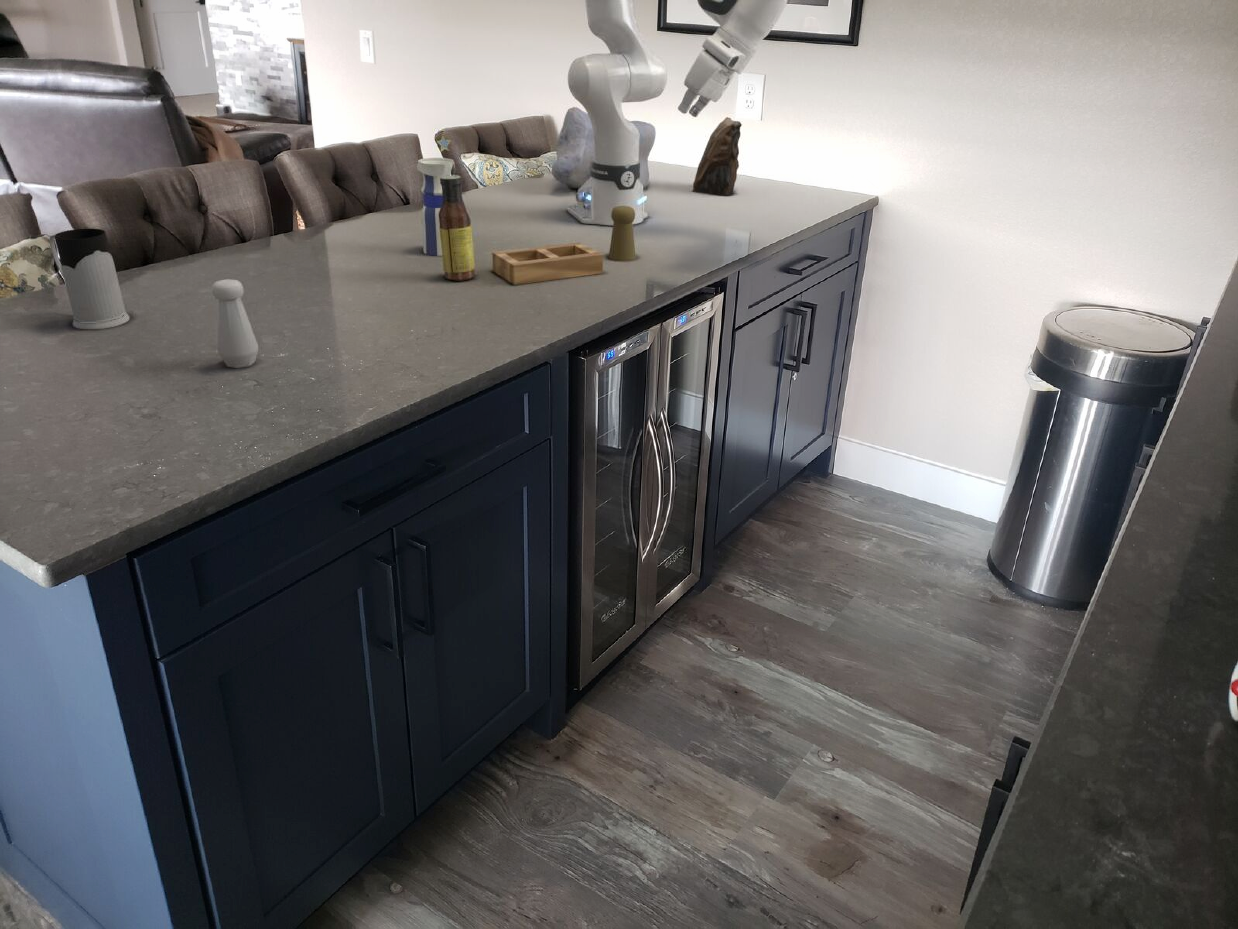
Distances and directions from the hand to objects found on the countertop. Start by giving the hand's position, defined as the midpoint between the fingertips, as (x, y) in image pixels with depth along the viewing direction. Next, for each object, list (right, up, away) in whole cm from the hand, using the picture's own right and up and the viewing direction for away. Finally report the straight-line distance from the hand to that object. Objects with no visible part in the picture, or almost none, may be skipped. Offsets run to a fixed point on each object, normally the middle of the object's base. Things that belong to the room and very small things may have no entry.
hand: (686, 113), depth 192 cm
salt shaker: (-73, -57, -48) cm, 104 cm away
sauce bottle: (-46, -35, -4) cm, 58 cm away
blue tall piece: (-53, -25, +14) cm, 61 cm away
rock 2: (+14, +7, +81) cm, 82 cm away
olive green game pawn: (-13, -27, +13) cm, 33 cm away
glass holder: (-105, -47, -31) cm, 120 cm away
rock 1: (-19, +9, +81) cm, 84 cm away
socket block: (-29, -33, +1) cm, 44 cm away
